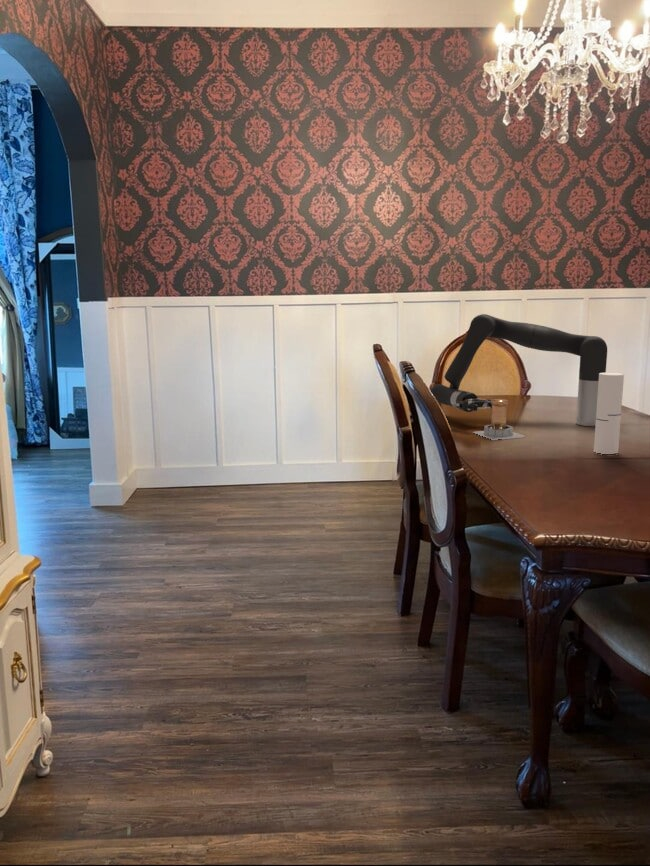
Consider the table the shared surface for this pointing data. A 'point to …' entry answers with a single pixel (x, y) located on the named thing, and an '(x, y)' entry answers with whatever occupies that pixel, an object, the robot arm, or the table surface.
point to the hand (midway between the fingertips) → (486, 407)
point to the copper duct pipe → (498, 413)
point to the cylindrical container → (608, 413)
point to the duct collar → (499, 433)
